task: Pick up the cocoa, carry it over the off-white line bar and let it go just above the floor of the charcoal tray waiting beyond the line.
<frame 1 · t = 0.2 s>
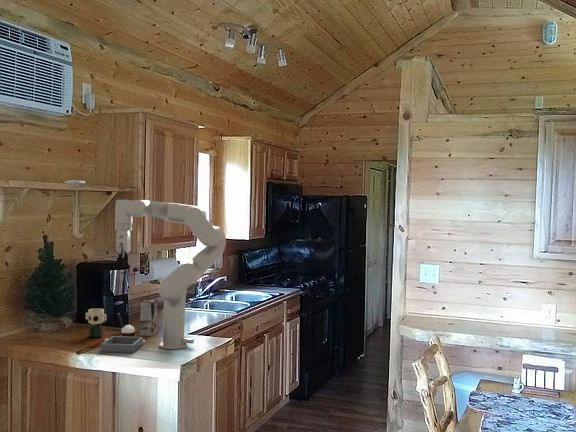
hand: (122, 265, 277), 36 cm above the counter, tool pointing down, fingers open, 9 cm apart
coffee box: (148, 334, 300), on the counter
cocoa: (127, 339, 288), on the counter
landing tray: (122, 348, 271), on the counter
big headed toy figurine: (95, 337, 290), on the counter
line bar: (124, 343, 280), on the counter
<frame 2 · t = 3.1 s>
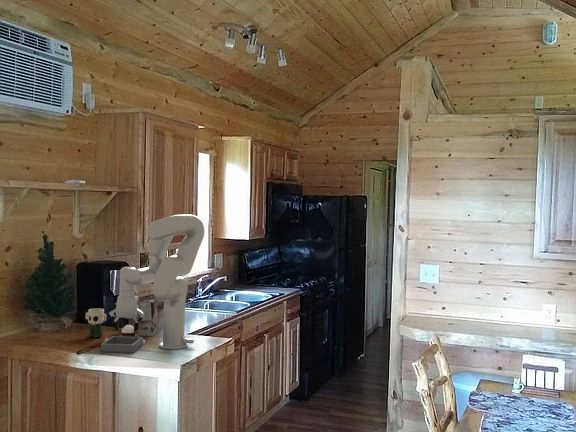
hand: (126, 330, 288), 4 cm above the counter, tool pointing down, fingers closed on cocoa, 8 cm apart
cocoa: (127, 339, 288), on the counter, touching gripper
everything else where it was.
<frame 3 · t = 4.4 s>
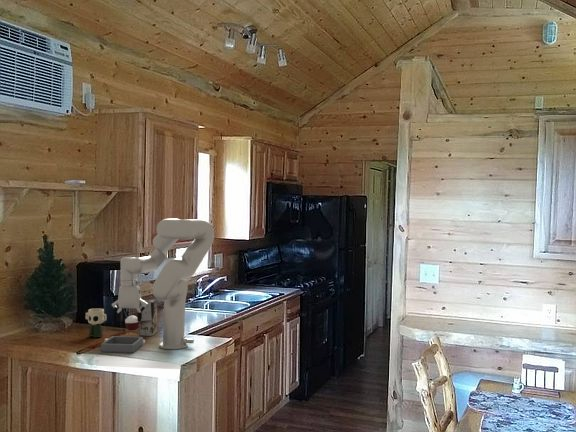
hand: (130, 320, 287), 9 cm above the counter, tool pointing down, fingers closed on cocoa, 8 cm apart
cocoa: (131, 330, 287), point 5 cm above the counter, touching gripper
everything else where it was.
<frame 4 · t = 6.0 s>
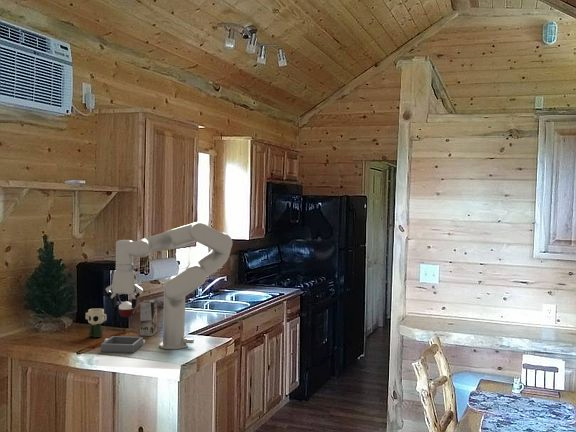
hand: (124, 307, 272), 18 cm above the counter, tool pointing down, fingers closed on cocoa, 8 cm apart
cocoa: (125, 316, 272), point 14 cm above the counter, touching gripper
everything else where it was.
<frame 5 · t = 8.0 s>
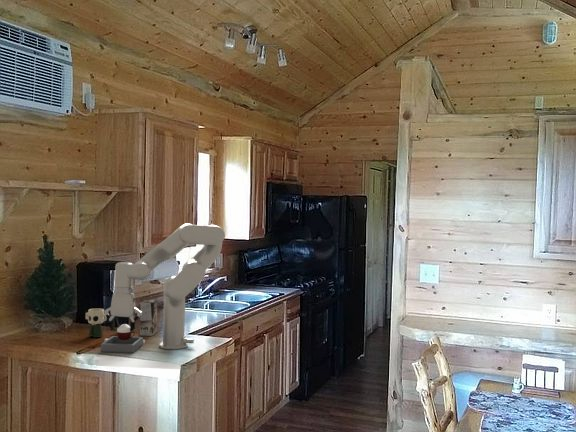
hand: (122, 329, 270), 8 cm above the counter, tool pointing down, fingers closed on cocoa, 8 cm apart
cocoa: (123, 339, 270), point 4 cm above the counter, touching gripper
everything else where it was.
when the fingers open (6 cm above the counter, at t = 9.1 s): cocoa drops 1 cm, resting on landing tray.
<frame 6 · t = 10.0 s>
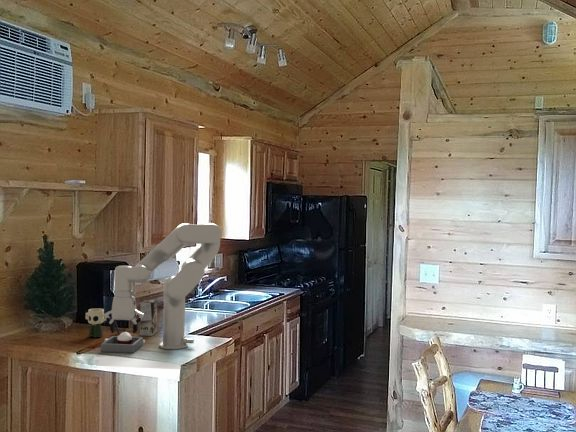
hand: (124, 332, 271), 7 cm above the counter, tool pointing down, fingers open, 9 cm apart
cocoa: (123, 347, 270), resting on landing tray, touching gripper
everything else where it was.
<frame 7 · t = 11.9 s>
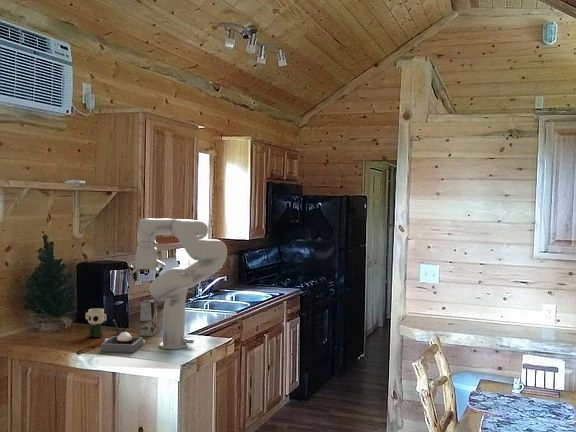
hand: (146, 281, 288), 27 cm above the counter, tool pointing down, fingers open, 9 cm apart
cocoa: (123, 347, 270), resting on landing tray
everything else where it was.
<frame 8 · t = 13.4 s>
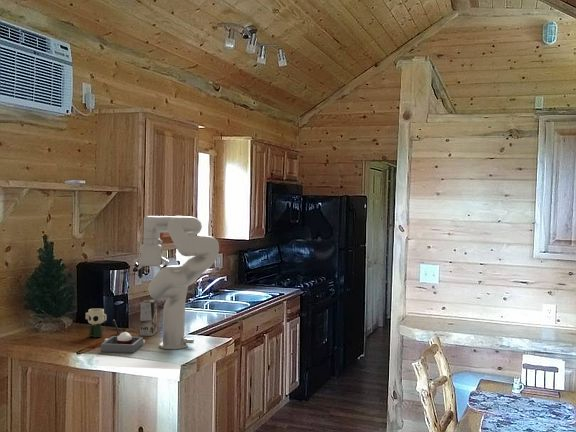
hand: (150, 278, 291), 28 cm above the counter, tool pointing down, fingers open, 9 cm apart
nothing on the counter moved.
at the end: cocoa inside the target area on the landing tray (0.6 cm from its centre), point 0.3 cm above the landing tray's base; cocoa tilted 0° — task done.
